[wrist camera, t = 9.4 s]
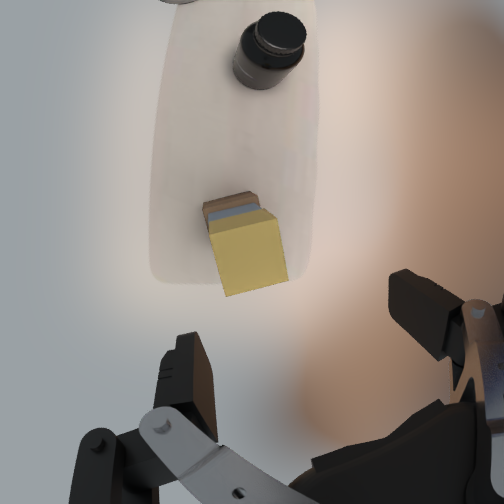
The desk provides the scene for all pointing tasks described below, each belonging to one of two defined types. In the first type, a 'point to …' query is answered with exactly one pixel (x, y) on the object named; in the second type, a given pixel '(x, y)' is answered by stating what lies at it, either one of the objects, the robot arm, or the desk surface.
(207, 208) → the tower base
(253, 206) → the tower mid
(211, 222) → the top block
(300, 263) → the desk surface
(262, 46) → the supplement bottle
